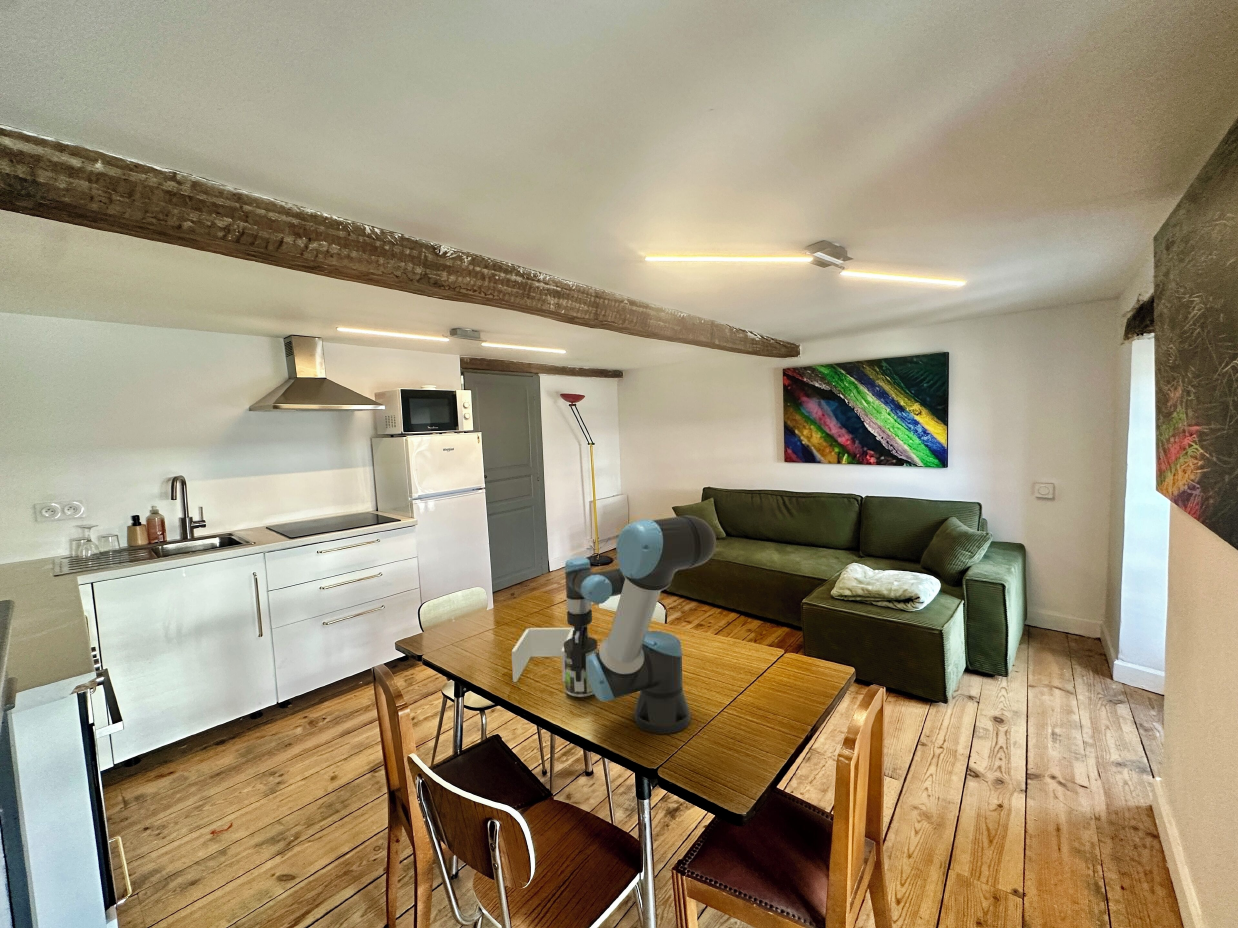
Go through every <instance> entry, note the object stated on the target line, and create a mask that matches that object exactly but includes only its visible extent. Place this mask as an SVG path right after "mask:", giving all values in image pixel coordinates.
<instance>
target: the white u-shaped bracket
mask: <svg viewBox="0 0 1238 928" xmlns="http://www.w3.org/2000/svg"><path fill="white" fill-rule="evenodd" d="M573 630H574V627H526V629H525V631H524V632H523V634H522V635H521V637H520V638H519V639H518V641H517V643H516V644H515V645H514V647H513V649H512V650H511V666H512V682H513V683H514V682H515V683H516V682H517V681H518V680H519V678H520V676H521V675H522V673H523V671H524V670H525V667H526V666H527V664H528V662H529V661H530V659H531V658H533V657H534V658H535V657H537V658H538V657H539V658H540V657H541V658H542V657H543V658H545V657H547V658H548V657H551V658H557V657H558V658H559V657H561V674H562V675H561V676H562V677H561V678H562V682H563V683H565V658H564V642H565V641H567V640H568V639H571V638H572V637H573Z"/></svg>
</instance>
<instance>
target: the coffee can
mask: <svg viewBox="0 0 1238 928" xmlns="http://www.w3.org/2000/svg"><path fill="white" fill-rule="evenodd" d="M598 642H599V641H598V640H597V639H596V638H594V637H591V636H588V637H587V638H586V640H585V645H584V646H583V649H582V657H583V672H584V691H575V687H574V671H571V668H573V639H572V638H571V639H568V640H567V641H565V642H564V658H565V682H564V683H565V693H566V694H568V695H570V696H572V697H576V698H577V697H578V698H584V697H589V696H591V695H595V694H594V692H593V690H592V688H591V685H590V682H589V679H588V675H587V670H586V659H587V657H588V656H589V655H591V654H592V653H594V654H596V653H598Z"/></svg>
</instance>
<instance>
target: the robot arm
mask: <svg viewBox="0 0 1238 928" xmlns="http://www.w3.org/2000/svg"><path fill="white" fill-rule="evenodd" d="M716 545H717V539H716V534H715V532H714V530H713V528H712V527H711V526H710V525H709V523H708V522H707V521H705V520H704V519H702V518H700V517H699V516H698V517H697V516H695V515H694V516H693V515H680V516H672V517H667V518H666V517H665V518H658V519H642V520H638V521H636V522H635V521H634V522H631V523H629V524H627V525H626V526H625V527H623V529H622V530H621V531H620V533H619V535H618V538H617V541H616V546H615V549H616V552H617V554H616V560H617V561H616V562H617V565H618V568H612V569H607V570H606V569H605V570H600V571H593V570H591V568H592V567H591V562H590V559H588V558H586V557H573V558H572V557H571V558H569V559H568V560H566V561H565V570H564V574H565V591H566V592H565V594H566V596H565V597H566V598H565V599H566V605H565V606H566V610H567V612H566V616H567V617H566V619H567V620H566V623H567V624H568V625H569V626H571V627H573V628H574V630H573V637H572V639H573V668H571V671H574V687H575V691H584V672H583V657H582V649H583V646H584V645H585V640H586V638H587V637H589V631H588V625H590V624H591V623H592V621H593V611H592V603H593V604H595V605H601V604H604V603H605V602H607V601H609V599H610V598H611V597H615V596H620V597H619V600H618V603H617V607H616V610H615V614H614V617H613V619H612V620H613V621H612V624H611V628H610V630H609V631H610V632H609V635H608V636H606V637H605V638H604V639H603V640H602V641H601V643H600V645H599V648H598V650H597V653H596V654H594V653H592V654H591V655H589V656H588V657H587V659H586V670H587V675H588V679H589V682H590V685H591V688H592V690H593V692H594V694H593V695H595V697H596V698H597V699H598V700H599V701H600V702H608V701H615V700H616V699H620V698H622V697H625V696H628V695H632V694H635V693H637V692H639V693H638V697H637V700H636V703H635V707H634V721H635V724H636V725H637V726H638V727H639V728H640V729H642V730H643V731H645V732H648V733H651V734H656V735H671V734H675V733H678V732H681V731H683V730H684V729H685V728H686V727H688V726H689V724H690V721H691V712H690V711H691V710H690V707H689V704H688V701H687V699H686V696H685V693H684V690H683V684H684V683H683V649H682V643H681V640H680V639H679V638H678V637H677V636H676V635H675V634H672V633H669V632H666V631H660V630H649V628H650V625H651V621H652V619H653V614H654V612H655V609H656V607H657V603H658V602H659V601H658V600H659V598H660V595H661V592H662V591H664V590H665V589H668V587H670V586H671V584H672V581H673V579H674V575H675V573H676V572H677V571H679V570H687V569H692V568H695V567H698V566H701V565H703V564H705V563H706V562H708V561H709V560H710V559H711V558H712V557H713V555H714V553H715V550H716V547H717V546H716Z"/></svg>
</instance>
